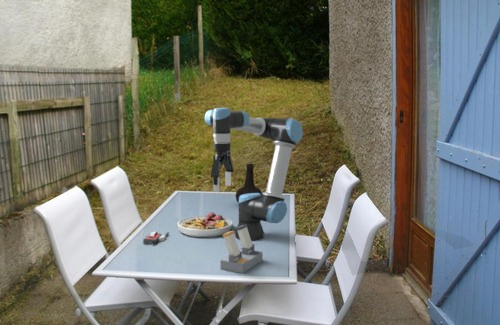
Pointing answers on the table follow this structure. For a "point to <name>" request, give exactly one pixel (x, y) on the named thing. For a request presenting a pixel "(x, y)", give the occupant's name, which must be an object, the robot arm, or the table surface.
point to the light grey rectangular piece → (244, 237)
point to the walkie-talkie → (154, 238)
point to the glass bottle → (248, 184)
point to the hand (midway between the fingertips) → (222, 188)
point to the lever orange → (231, 244)
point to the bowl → (205, 225)
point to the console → (242, 260)
